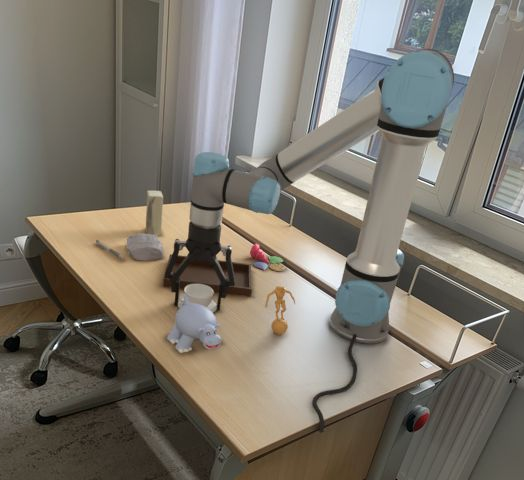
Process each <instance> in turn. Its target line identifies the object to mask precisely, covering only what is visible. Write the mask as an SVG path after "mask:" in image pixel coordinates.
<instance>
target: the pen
mask: <svg viewBox="0 0 524 480" xmlns="http://www.w3.org/2000/svg"><path fill="white" fill-rule="evenodd" d="M95 243H96V245H97V246H98V247H99V248H101V249H103V250H106V251H108V252H110V253H111V254H113V255H114V256H116V257H117V258H119V259H121V260H125V257H124V256H123V255H122V254H121V253H119V252H118V251H116V250H114V249H113V248H111V247H109V246H108V245H106V244H105V243H103V242H102V241H100V240H98V239H95Z"/></svg>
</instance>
